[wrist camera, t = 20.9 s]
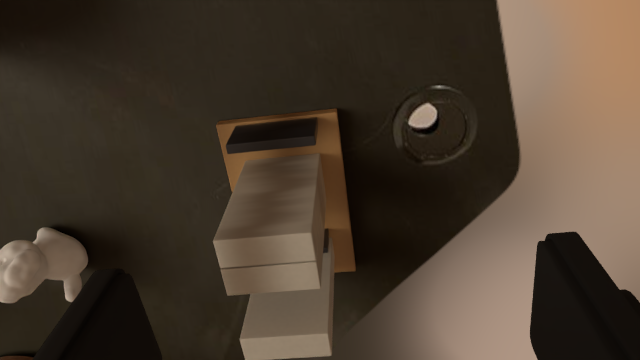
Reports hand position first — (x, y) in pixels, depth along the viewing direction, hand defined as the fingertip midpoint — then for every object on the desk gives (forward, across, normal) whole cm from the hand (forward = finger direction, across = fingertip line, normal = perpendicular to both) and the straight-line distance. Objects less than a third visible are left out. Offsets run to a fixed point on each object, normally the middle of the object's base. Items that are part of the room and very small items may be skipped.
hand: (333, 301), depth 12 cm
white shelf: (+30, +6, +14) cm, 34 cm away
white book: (+29, +6, +19) cm, 35 cm away
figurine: (+31, +29, +17) cm, 45 cm away
